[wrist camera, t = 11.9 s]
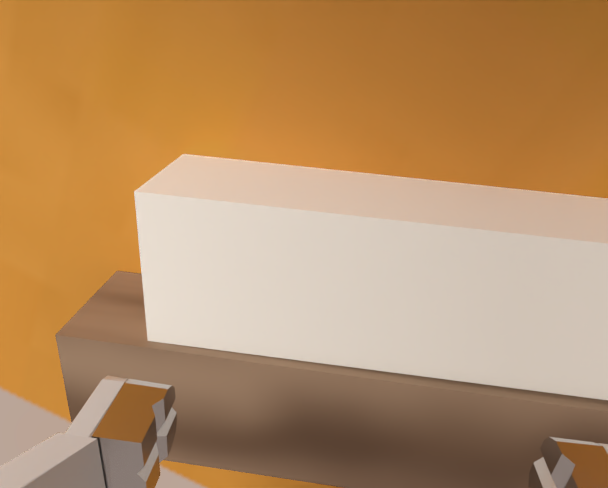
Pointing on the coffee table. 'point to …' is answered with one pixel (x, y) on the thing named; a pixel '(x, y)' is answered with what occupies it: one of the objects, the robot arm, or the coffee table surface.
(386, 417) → the brown wooden block
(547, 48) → the coffee table surface
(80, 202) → the coffee table surface
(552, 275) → the cream floor plank
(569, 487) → the robot arm
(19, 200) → the coffee table surface
